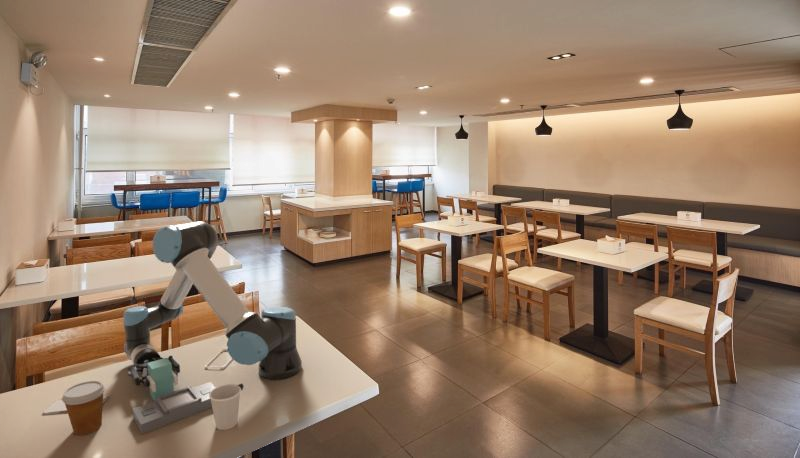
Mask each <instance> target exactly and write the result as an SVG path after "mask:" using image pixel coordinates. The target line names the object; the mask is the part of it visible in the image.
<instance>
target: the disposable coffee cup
mask: <svg viewBox="0 0 800 458" xmlns="http://www.w3.org/2000/svg"><path fill="white" fill-rule="evenodd" d="M105 390H106V386H105V385H104V383H103V382H102V381H100V380H87V381H82V382H79V383H76V384H74V385H71V386H70V387H68V388H66V390H65V391H63V395H62V397H61V400H62V401H63V402H64V403H65V405H66V409H67V412H66V413H67V416H68V418H69V421H70V424H71V428H72V431H73V434H74V435H77V436H83V435H84V436H85V435H88V434H91V433H93V432H95V431H97V430H99V428H101V427H102V424H103V407H104V405H103V404H104V403H103V394H104V393H105Z"/></svg>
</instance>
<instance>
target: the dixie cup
mask: <svg viewBox="0 0 800 458" xmlns="http://www.w3.org/2000/svg"><path fill="white" fill-rule="evenodd" d="M237 385H238V384H234V383H233V384H230V383H229V384H222V385H219V386H217V387H216V388H215V389H213V390H212V391H211V392H210V394H209V397H210V399H211V404H212V407H211V408H212V412H213V413H212V414H213V418H214V422H215V427H216V429H218V430H219V431H227V430H231V429H232V428H234V427H235V426H237V424H238V418H239V411H240V410H239V407H240V399H241V398H240V396H241V391H242V387H241V388H240V387H239V386H237Z"/></svg>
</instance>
